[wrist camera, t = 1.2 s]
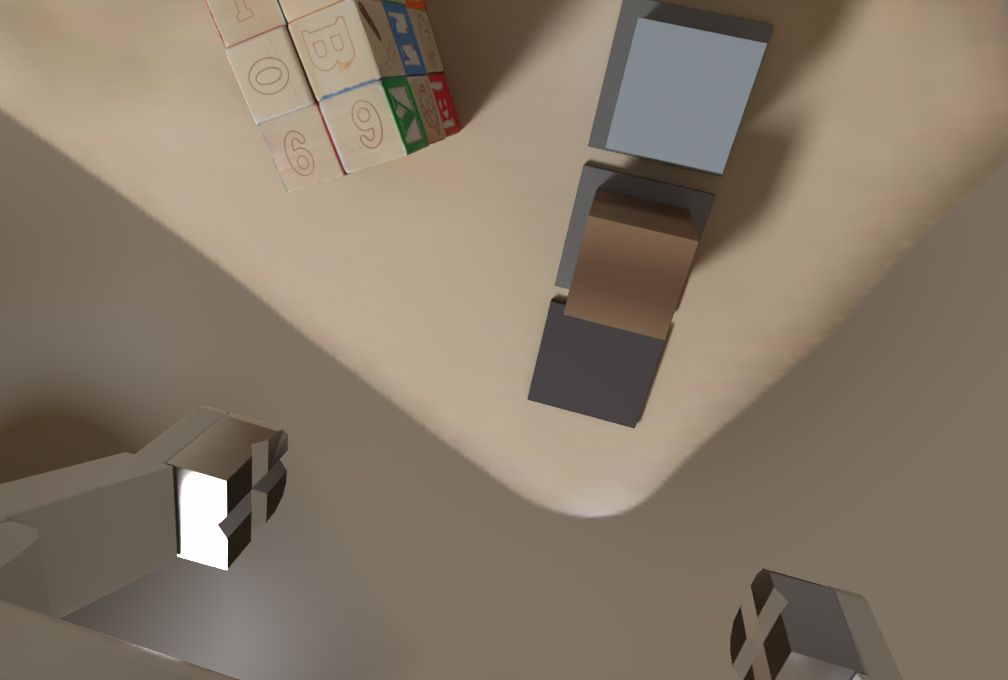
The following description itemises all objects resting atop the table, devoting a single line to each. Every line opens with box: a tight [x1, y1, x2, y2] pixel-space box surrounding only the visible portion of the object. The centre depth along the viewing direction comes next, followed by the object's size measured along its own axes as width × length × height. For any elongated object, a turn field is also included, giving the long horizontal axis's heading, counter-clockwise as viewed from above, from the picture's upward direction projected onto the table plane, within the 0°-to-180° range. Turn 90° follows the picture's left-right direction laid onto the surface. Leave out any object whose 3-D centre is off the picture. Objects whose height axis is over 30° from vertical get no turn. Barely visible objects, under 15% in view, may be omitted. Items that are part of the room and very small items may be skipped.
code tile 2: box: [588, 0, 774, 176], centre depth 30 cm, size 7×7×1 cm
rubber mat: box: [528, 299, 668, 428], centre depth 37 cm, size 7×7×1 cm
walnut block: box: [564, 188, 699, 340], centre depth 31 cm, size 5×5×6 cm
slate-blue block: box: [605, 18, 767, 174], centre depth 27 cm, size 5×5×6 cm
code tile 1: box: [555, 165, 715, 289], centre depth 34 cm, size 7×7×1 cm
